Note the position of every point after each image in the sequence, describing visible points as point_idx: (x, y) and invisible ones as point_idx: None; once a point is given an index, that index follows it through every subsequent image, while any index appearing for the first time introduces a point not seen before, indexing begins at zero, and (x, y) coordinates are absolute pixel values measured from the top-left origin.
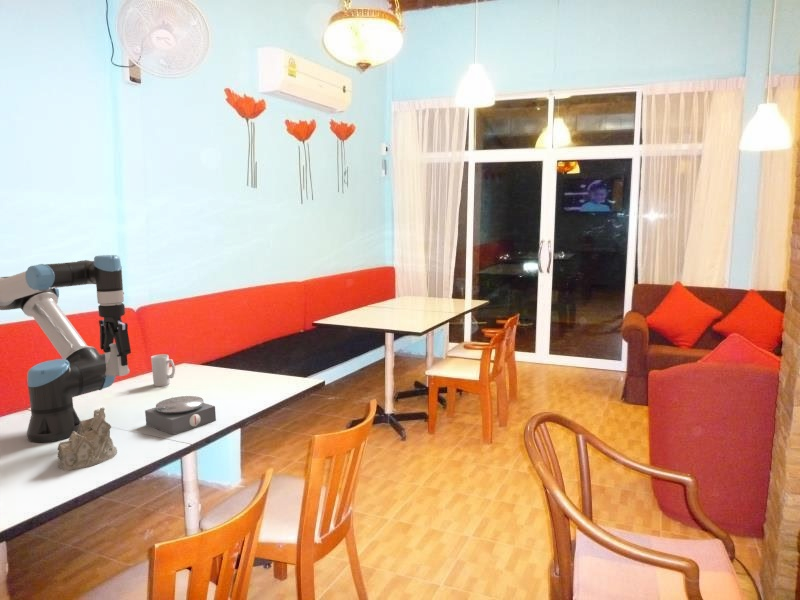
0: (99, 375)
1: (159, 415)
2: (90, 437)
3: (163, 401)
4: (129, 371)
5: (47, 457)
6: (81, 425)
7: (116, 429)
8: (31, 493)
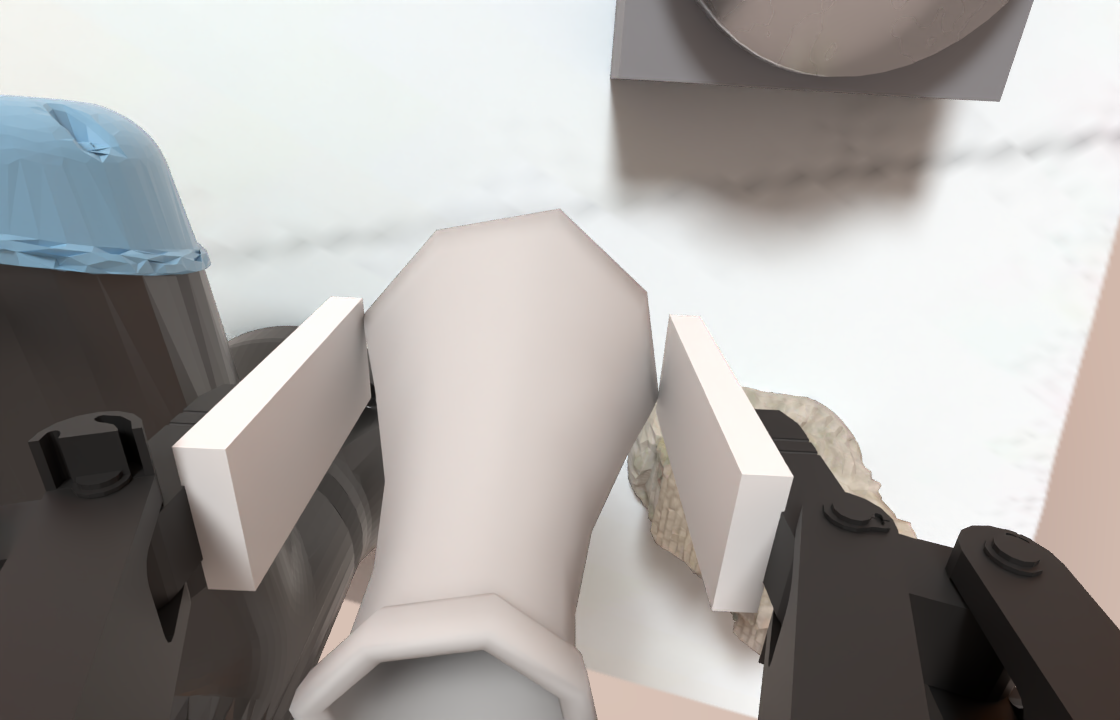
0: (183, 353)
1: (827, 90)
2: None
3: None
4: (575, 227)
5: (589, 564)
6: None
7: None
8: None
